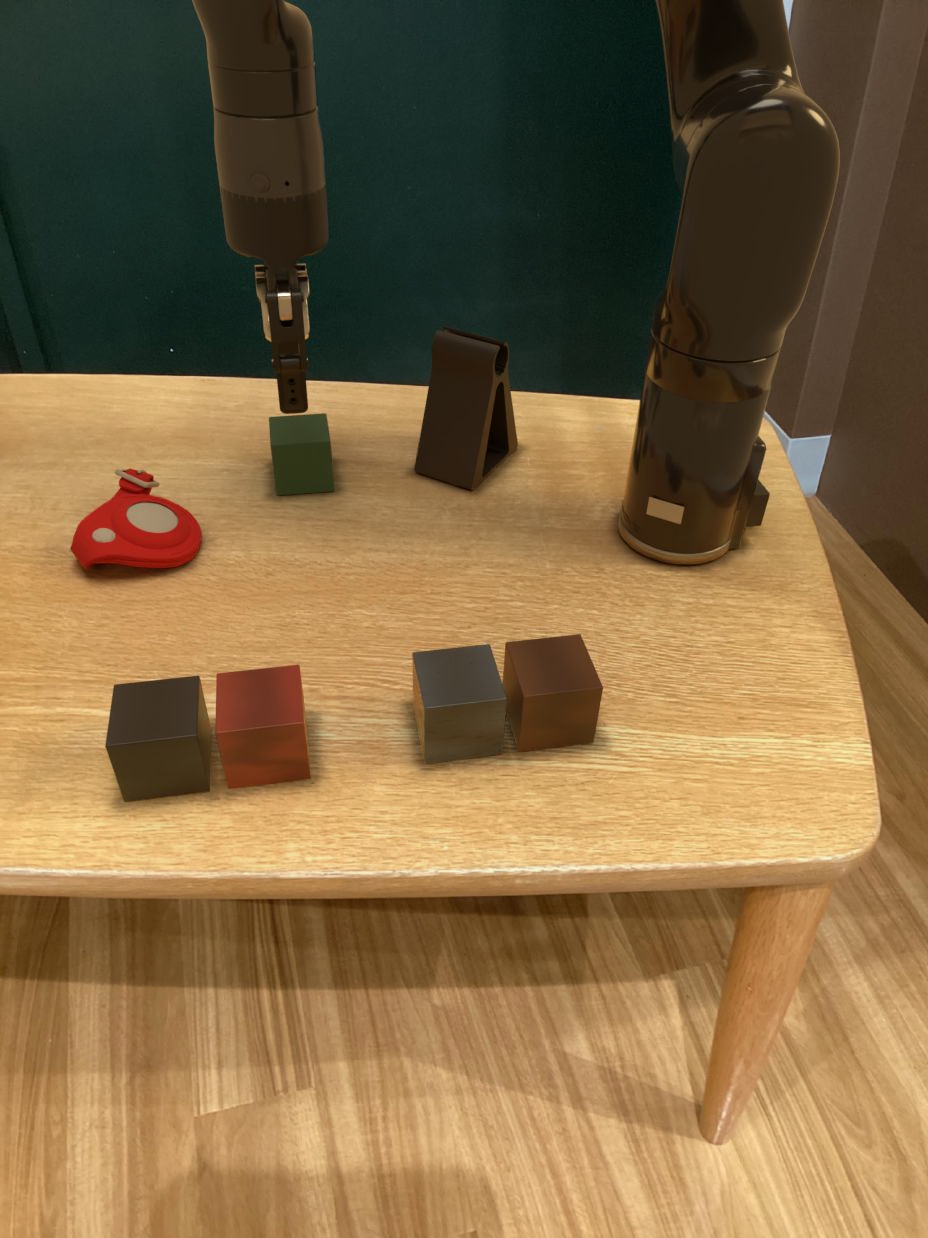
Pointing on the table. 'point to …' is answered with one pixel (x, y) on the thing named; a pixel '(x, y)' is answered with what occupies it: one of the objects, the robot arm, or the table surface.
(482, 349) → the phone stand
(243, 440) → the table surface
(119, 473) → the tracker holder
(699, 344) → the robot arm
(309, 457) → the green block
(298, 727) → the block line
